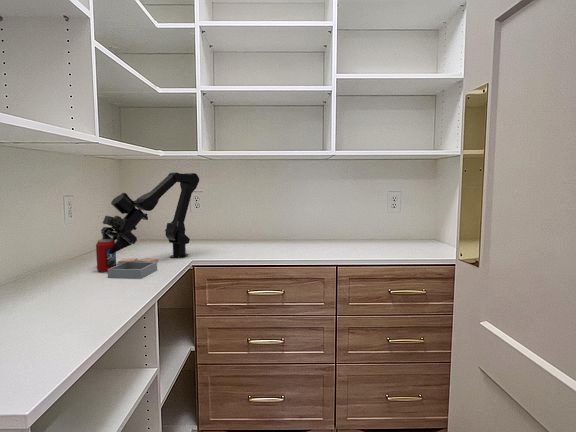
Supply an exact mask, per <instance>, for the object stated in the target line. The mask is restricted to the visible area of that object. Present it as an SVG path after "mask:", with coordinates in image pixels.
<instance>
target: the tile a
mask: <svg viewBox="0 0 576 432" xmlns="http://www.w3.org/2000/svg"><path fill="white" fill-rule="evenodd" d="M137 260H139V258H138V257H127V258H126V257H124V258H122V259H120V260H118V261H117V263H118V264H117V265H119V264H122V263H124V262H137Z"/></svg>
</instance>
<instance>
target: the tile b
mask: <svg viewBox="0 0 576 432" xmlns="http://www.w3.org/2000/svg"><path fill="white" fill-rule="evenodd" d="M137 262H157V263H158V262H159V259H158V258H154V257H143V258H140V259H138V260H137Z"/></svg>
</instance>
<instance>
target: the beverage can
mask: <svg viewBox="0 0 576 432" xmlns="http://www.w3.org/2000/svg"><path fill="white" fill-rule="evenodd" d="M114 241H115V240H114ZM114 241H113V239H102V238H100V239H98V240H97V242H96V244H95V253H96V267H97V268H96V269H97V271H99V272H101V273H108V269H110V268H112V267H114V266H117V252H115V253H113V254H110V253H109V252H110V250H111V248H112V247H113V245H114V244H115V242H116V241H115V242H114Z"/></svg>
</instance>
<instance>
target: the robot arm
mask: <svg viewBox="0 0 576 432" xmlns="http://www.w3.org/2000/svg"><path fill="white" fill-rule="evenodd" d="M176 183H179V187H180V190H181V191H180V194H179V198H178V201H177V204H176V209H175V213H174V215H173V216H174V217H173V218H172V220H171V222H167V223H166V227H165V229H164V232H165V233H164V235H165V237H166V238H167V240H168V242H169V244H172V255H169V258H176V259H177V258H186V257H188V256H189V255H190V254H189V253H187V251H186V250H187V249H186V245H187V244H189V243H190V240H191V239H190V238H189V236H188V235H187V234H186V226H185V220H186V216H187V213H188V209H189V205H190V202H191V197H192V194H193V192H194V191H195V190H196V189H197V188H198V185H199V183H200V177H199V175H198V174H197V173H194V172H191V173H190V172H188V173H187V172H185V173H180V172H176V171H175V172H169V173H168V175H167V176H166V177H165V178H164V179H162V181H160V182H159V183H158V184H157V185H156V186H155V187H154V188H153V189H151V190H150V191H149V192H147V193H144V194H142V195H141V196H139V197H138V198H136V200H133V199H132V198H131V197H129V195H128V194H127V192H122V193H121V194H119V195H117V196H116V197H113V199H112V201H111V203H110V204H111V206H112V207H114V208H115V209H116V210H117V212H119V213H120V214H122V215H123V214H125V216H124V217H123V218H122V217H121V216H119V215H114V216H110V215H105V216H104V219H103V221H102V224H103V225H107V226H103V227H102V228H101V230H100V232H101V233H100V234H101V235H102V238H101V239H113V241H114V242H115V244H114V245H113V247H112V248H111V250H110V252H109V253H110V254H113V253H115V252H116V253H117V252H119V251H121V250H123V249H124V248H127V247H130V246H132V245H135V244H136V243H137V241H138V237H137V236H136V235H135V234H134V233H133V231H136V230H137V226H138V224H139V223H140V222H141V221H142V220H143V221H149V217H148V213H144V212H143V211H146V212H151V211H153V210H154V209H155V207H157V205H158V204H159V200H160V199H161V198H162V197H163V196H164V195H165V194H166V193H167V192H168V191H169V190H170V189H171V188H172V187H173V186H174V185H175V184H176Z"/></svg>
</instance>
